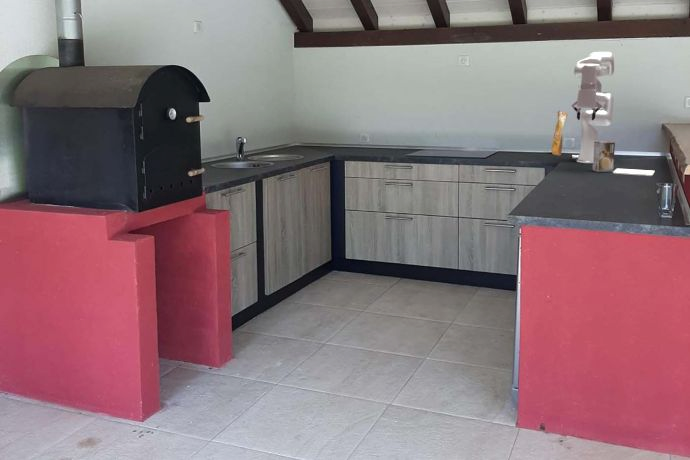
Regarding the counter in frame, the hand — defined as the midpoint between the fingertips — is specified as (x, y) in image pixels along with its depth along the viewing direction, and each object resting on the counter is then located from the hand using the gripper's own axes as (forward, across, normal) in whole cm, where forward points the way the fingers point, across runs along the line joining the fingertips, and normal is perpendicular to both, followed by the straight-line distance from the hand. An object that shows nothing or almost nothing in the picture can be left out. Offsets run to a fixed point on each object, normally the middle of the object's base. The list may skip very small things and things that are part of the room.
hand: (585, 119), depth 404 cm
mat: (+28, +27, 0) cm, 39 cm away
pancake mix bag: (+28, -28, +71) cm, 81 cm away
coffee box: (+28, +11, 0) cm, 30 cm away
